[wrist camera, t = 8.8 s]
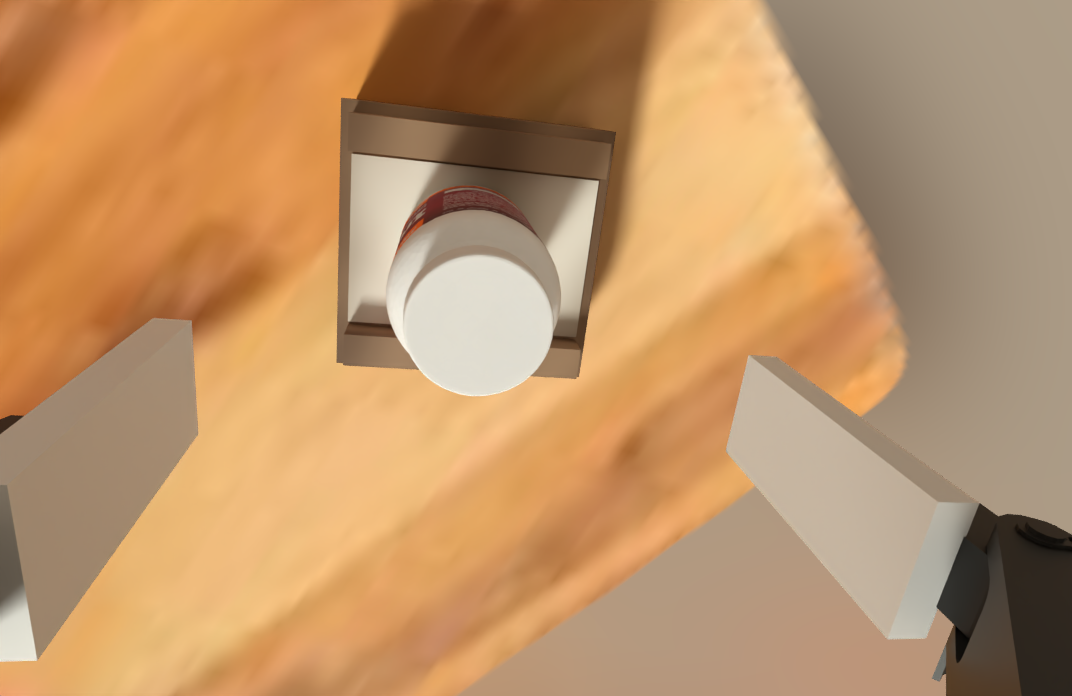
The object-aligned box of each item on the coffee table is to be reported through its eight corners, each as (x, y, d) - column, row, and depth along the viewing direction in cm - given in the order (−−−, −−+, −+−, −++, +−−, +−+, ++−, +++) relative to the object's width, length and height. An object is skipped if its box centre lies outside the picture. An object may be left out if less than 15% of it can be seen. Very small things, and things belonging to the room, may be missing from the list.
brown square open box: (350, 329, 36) (331, 374, 30) (355, 99, 32) (335, 97, 26) (562, 343, 38) (584, 388, 32) (592, 128, 34) (624, 133, 28)
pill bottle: (399, 177, 29) (376, 218, 18) (538, 187, 30) (589, 229, 19) (398, 313, 31) (376, 416, 20) (527, 318, 32) (569, 419, 21)
